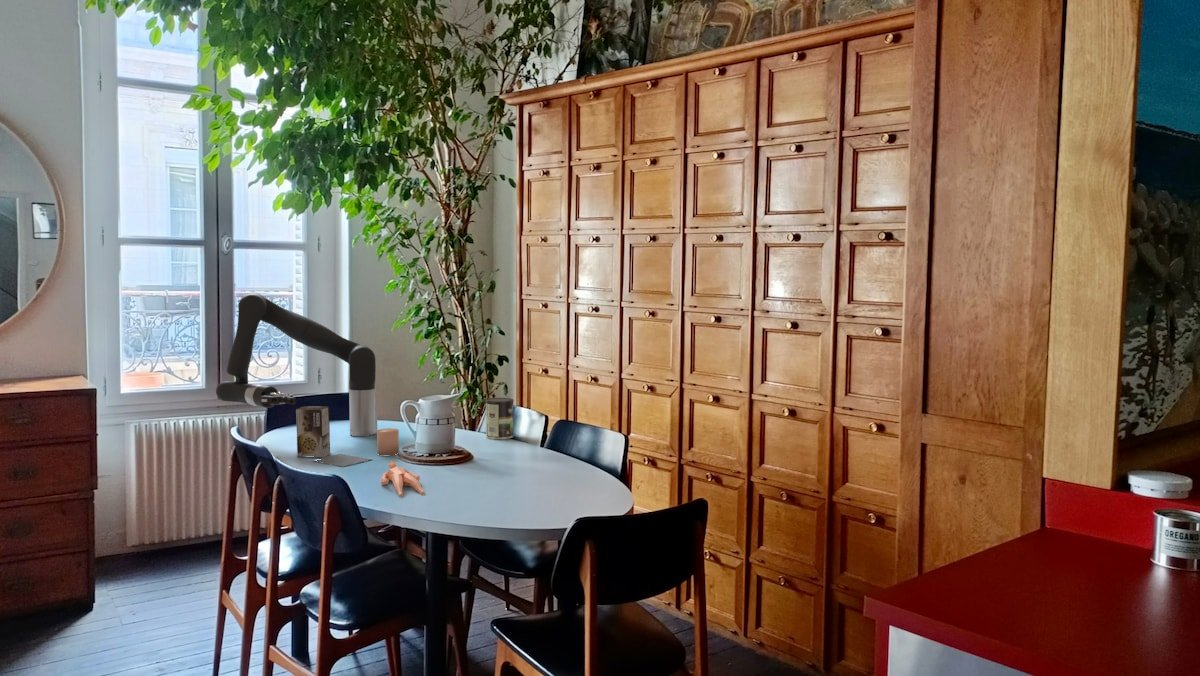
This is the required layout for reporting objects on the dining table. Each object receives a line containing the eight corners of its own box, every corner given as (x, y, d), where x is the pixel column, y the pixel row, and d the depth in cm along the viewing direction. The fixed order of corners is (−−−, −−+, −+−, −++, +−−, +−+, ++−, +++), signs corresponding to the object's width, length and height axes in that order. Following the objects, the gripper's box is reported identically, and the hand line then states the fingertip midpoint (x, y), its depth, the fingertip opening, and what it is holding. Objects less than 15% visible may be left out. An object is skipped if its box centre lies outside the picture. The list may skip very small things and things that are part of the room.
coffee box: (330, 453, 290) (330, 406, 289) (322, 458, 284) (322, 409, 282) (304, 452, 291) (304, 405, 290) (296, 457, 285) (295, 408, 283)
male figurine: (392, 487, 236) (373, 460, 258) (392, 504, 237) (373, 476, 259) (431, 483, 241) (409, 457, 263) (431, 500, 241) (408, 473, 263)
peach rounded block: (388, 450, 296) (388, 427, 295) (403, 453, 292) (403, 429, 292) (372, 454, 290) (372, 430, 289) (387, 457, 286) (387, 433, 286)
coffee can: (514, 434, 327) (515, 397, 326) (511, 439, 317) (511, 401, 316) (487, 434, 327) (487, 397, 326) (483, 439, 317) (483, 401, 316)
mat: (340, 454, 289) (340, 453, 289) (371, 460, 281) (371, 459, 281) (311, 461, 279) (311, 460, 279) (343, 467, 271) (342, 466, 271)
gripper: (244, 387, 294) (277, 392, 285) (277, 383, 305) (310, 388, 296) (244, 408, 294) (277, 414, 285) (277, 404, 306) (310, 409, 296)
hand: (294, 401), depth 291 cm, fingers closed
